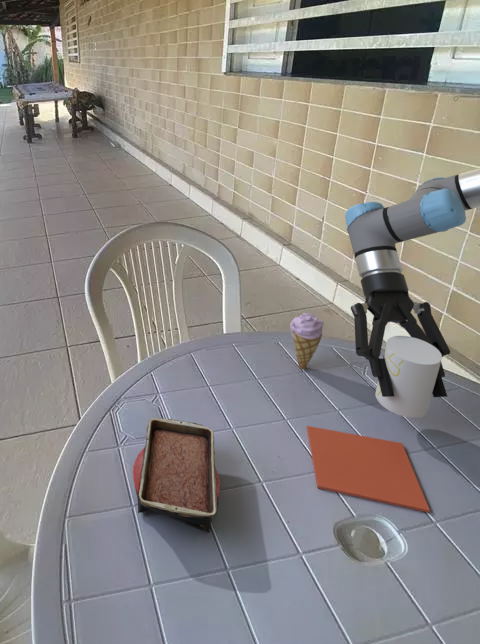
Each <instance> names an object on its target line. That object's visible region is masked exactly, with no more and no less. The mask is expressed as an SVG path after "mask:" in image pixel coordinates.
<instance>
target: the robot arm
mask: <svg viewBox="0 0 480 644" xmlns="http://www.w3.org/2000/svg"><path fill="white" fill-rule="evenodd" d="M477 208H480V167H479V168H475V169H472V170H467V171H465V172H460V173H459V174H455V175H451V176H447V177H442V176H441V177H438V176H437V177H433V178H430V179H428V180H426V181H424V182H423V183H422V184H419V186H418V187H417V189H416V190H415V191H414V193H413V194H412V195H411V196H410V197H409V198H408V199H407V200H405V201H401V202H399V203H395V204H393V205H391V206H387V207H384V205H383V204H382V203H381V202H378V201H367V202H362V203H357V204H355V205H352V206H351V207H349V208H348V209H347V210H345V214H344V218H345V225H346V232H347V234H348V238H349V241H350V245H351V249H352V251H353V256H354V261H355V264H356V268H357V273H358V275H359V277H360V278H361V279H360V285H361V289H362V293H363V296H364V297H365V302H362V303H361V302H356V303H355V304H352V305H351V306H350V311H351V313H352V316H353V318H354V320H353V321H354V322H353V323H354V339H355V340H354V341H355V353H356V356H358V357H363V358H364V359H365V360H367V361H368V363H369V366H370V367H369V368H370V370H371V375H372V376H373V378H377V382H378V381H379V385H380V389H381V393H382V397H391V396H394V392H393V388H392V384H391V380H390V376H389V372H388V368H387V365H386V361H385V359H383V358H380V356H381V351H382V347H383V341H384V337H385V331H386V328H387V327H386V326H387V325H388V323H394V324H399V325H400V327H402V328H403V329H404V330H405V331H406V332H407V334H408V335H409V337H413V338H417V339H420V340H423V341H425V342H427V343H429V344H431V345H433V346H434V347H435V348H437V349H438V350H439V351H440V353H441V355H442V358H444V357H445V356H447V355H450V354H451V350H450V348H449V346H448V344H447V342H446V339H445V338H444V336H443V333H442V332H441V330H440V328H439V326H438V324H437V321H436V320H435V318H434V316H433V314H432V309H431V308H432V307H431V304H430V303H429V302H428V301H424V302H415V301H414V300H413V299H412V298H411V297H410V295H409V288H408V287H409V286H408V284H407V280H406V277H405V275H404V273H402V272H403V266H402V263H401V260H400V257H399V254H398V250H397V247H396V245H397V244H398V243H402V242H406V241H409V240H413V239H417V238H423V237H426V236H429V235H433V234H437V233H444V232H447V231H449V230H451V229H454V228H457V227H461V226H462V225H464V224H465V223H466V221H467V216H466V214H467V213H466V211H469V210H473V209H477ZM412 310H413V313H414V314H416V316H417V319H418V321H419V323H420V325H419V324H418V321H417V319H416V317H415V316H414V315H413V314H412ZM368 312H370V313H371V315H372V316H373V318H372V322H371V325H372V327H371V333H370V337H369V334H368V318H367V317H368V316H367V313H368ZM445 376H446V373H445V369H444V367H443V363H442V362H441V364H440V367H439V371H438V374H437V378H436V382H435V385H434V389H433V392H432V397H433V398H448V393H447V390H446V388H445V387H446V386H445V383H444V381H443V378H445Z"/></svg>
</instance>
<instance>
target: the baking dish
mask: <svg viewBox="0 0 480 644" xmlns="http://www.w3.org/2000/svg"><path fill="white" fill-rule="evenodd" d="M215 451H216V450H215V434H214V431H213V430H212V429H211V428H210V427H207V426H206V425H203V424H199V423H196V422H189V421H184V420H178V419H172V418H156V417H154V418H150V419H149V420H148V421H147V426H146V437H145V444H144V448H142V450H140V452H139V453H138V454H137V456H136V458H135V460H134V463H133V468H132V477H133V483H134V488H135V493H136V498H137V514H140V513H144V512H148V511H153V512H154V513H155V512H156V513H158V514H160V515H163V516H165V517H168V518H170V519H172V520H175V521H177V522H180V523H182V524H185V525H187V526H190V527H192V528H195V529H197V530H200V531H203V532H205V533H211V530H210V529H211V523H212V518H213V516H215V515H216V514H217V512H218V510H219V508H218V506H219V498H220V492H221V480H220V476H219V473H218V470H217V469H216V460H215V459H216V457H215V456H216V452H215Z"/></svg>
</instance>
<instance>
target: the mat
mask: <svg viewBox="0 0 480 644" xmlns="http://www.w3.org/2000/svg"><path fill="white" fill-rule="evenodd" d="M306 431H307V438H308V443H309V449H310V454H311V460H312V466H313V471H314V472H313V473H314V477H315V484H316V488H317V489H320V490H324V491H329V492H332V493H338V494H342V495H346V496H351V497H355V498H360V499H365V500H370V501H373V502H378V503H383V504H387V505H392V506H396V507H401V508H406V509H410V510H414V511H418V512H423V513H429V514H430V512H431V510H430V507H429V505H428V502H427V500H426V497H425V495H424V492H423V490H422V488H421V485H420V483H419V480H418V478H417V476H416V473H415V471H414V469H413V466H412V464H411V461H410V459H409V457H408V454H407V451H406V449H405V447H404V445H403V443H402V442H398V441H392V440H387V439H381V438H376V437H371V436H366V435H365V436H364V435H359V434H354V433H349V432H342V431H337V430H333V429H328V428H327V429H326V428H322V427H317V426H311V425H306Z"/></svg>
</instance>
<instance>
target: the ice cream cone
mask: <svg viewBox="0 0 480 644" xmlns="http://www.w3.org/2000/svg"><path fill="white" fill-rule="evenodd" d="M323 327H324V320H323V319H319V317H317V316H316V315H314V314H312V313H308V312H306V311H304V312H303V313H302V314H300V315H299V316H295V317H294V318H293V319H292V320H291V322H290V324H289V329H290V332H291V338H292V339H293V344H294V350H295V356H296V360H297V364H298V368H299V369H300V370H306V368H307V367H308V365H309V363H310V362H311V360H312V359H313V356H314V354H315V353H316V351H317V348H318V347H319V344H320V341H321V339H322V337H323Z"/></svg>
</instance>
